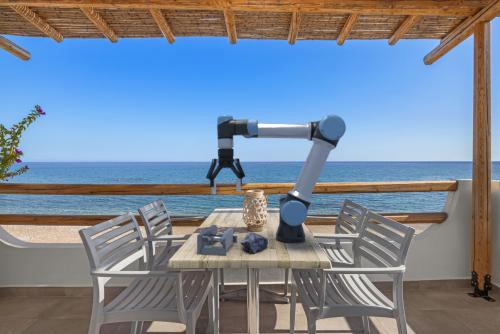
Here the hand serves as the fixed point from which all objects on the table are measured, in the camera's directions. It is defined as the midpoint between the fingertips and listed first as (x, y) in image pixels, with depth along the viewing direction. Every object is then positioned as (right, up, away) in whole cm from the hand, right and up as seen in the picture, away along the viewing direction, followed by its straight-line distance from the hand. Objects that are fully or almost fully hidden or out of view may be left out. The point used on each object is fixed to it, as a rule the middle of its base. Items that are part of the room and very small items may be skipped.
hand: (226, 193), depth 139 cm
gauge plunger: (-4, -24, -4) cm, 25 cm away
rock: (+12, -25, -7) cm, 29 cm away
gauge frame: (-3, -25, -4) cm, 25 cm away
